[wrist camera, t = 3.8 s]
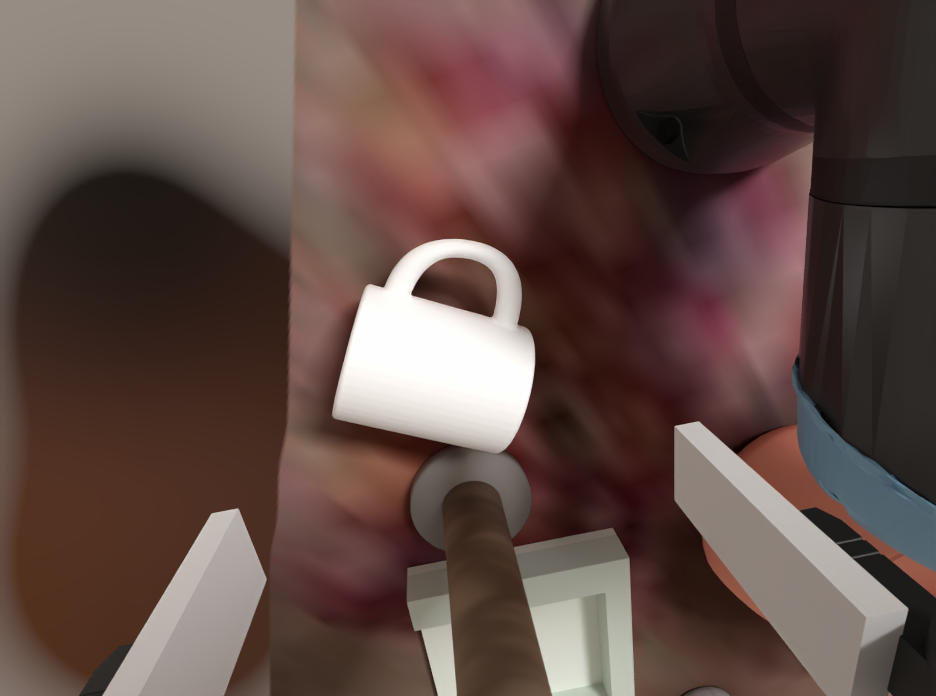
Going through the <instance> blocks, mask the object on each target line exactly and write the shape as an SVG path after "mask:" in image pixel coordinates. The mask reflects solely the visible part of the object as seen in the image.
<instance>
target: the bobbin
mask: <svg viewBox="0 0 936 696" xmlns="http://www.w3.org/2000/svg"><path fill="white" fill-rule="evenodd" d="M531 507H532V493H531V488H530V485H529V482H528V480H527V477H526V474H525V472H524V469H523V468H522V466H521V464H520V463H519V462H518V460H517V459H516V458H515V457H514V456H513V455H512V454H510V453H509V452H507V451H506V450H503V451H502V452H500V453H496V454H494V453H489V452H485V451H480V450H475V449H471V448H466V447H462V446H457V445H452V446H449V447H446V448H444V449H442V450H440V451H438V452H437V453H435V454H434V455H432V456H431V457H430V458H429V459H427V460H426V461H425V462H424V464H423V465H422V466H421V467H420V469H419V470H418V472H417V473H416V475H415V477H414V480H413V483H412V487H411V517H412V520H413V523H414V526H415V527H416V529H417V531H418V532H419V534H420V535H421V536H422V537H423V538H424V539H425V540H426V541H427V542H429V543H430V544H431V545H433V546H435V547H436V548H439V549H441V550H443V551H446V564H447V576H448V589H449V602H450V615H451V627H452V640H453V653H454V665H455V678H456V691H457V696H552V693H551V689H550V685H549V681H548V677H547V673H546V670H545V666H544V662H543V658H542V654H541V650H540V647H539V643H538V639H537V635H536V631H535V627H534V624H533V620H532V616H531V612H530V608H529V604H528V600H527V597H526V593H525V589H524V585H523V581H522V577H521V574H520V570H519V566H518V562H517V558H516V554H515V551H514V547H513V543H512V538H513V537H514V536H515V535H516V534H517V533H518V532H519V531H520V530H521V529H522V527H523V526H524V524H525V523H526V521H527V519H528V517H529V514H530V511H531Z"/></svg>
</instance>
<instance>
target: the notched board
mask: <svg viewBox="0 0 936 696" xmlns="http://www.w3.org/2000/svg"><path fill="white" fill-rule="evenodd" d="M514 551H515V554H516V558H517V562H518V566H519V570H520V574H521V577H522V581H523V585H524V589H525V593H526V597H527V600H528V604H529V608H530V612H531V616H532V620H533V624H534V627H535V631H536V635H537V639H538V643H539V647H540V650H541V654H542V658H543V662H544V666H545V670H546V673H547V677H548V681H549V685H550V689H551V693H552V696H635V695H634V668H633V641H632V614H631V588H630V561H629V556H628V554H627V553H626V551H625V549H624V547H623V545H622V544H621V542H620V540H619V538H618V536H617V535H616V533H615V531H614V529H613V528H608V529H603V530H598V531H593V532H588V533H583V534H578V535H573V536H568V537H562V538H557V539H552V540H547V541H542V542H537V543H532V544H527V545H522V546H517V547H514ZM407 605H408V609H409V613H410V616H411V620H412V624H413V628H414V631H418V630H421V631H422V635H423V639H424V643H425V647H426V651H427V654H428V658H429V662H430V666H431V670H432V674H433V678H434V682H435V686H436V689H437V693H438V696H457V691H456V678H455V665H454V653H453V640H452V627H451V615H450V602H449V589H448V576H447V564H446V560H445V561H440V562H435V563H430V564H425V565H420V566H415V567H410V568H407Z"/></svg>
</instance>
